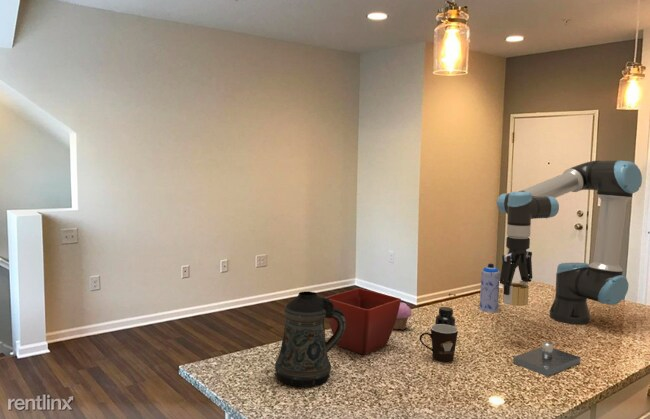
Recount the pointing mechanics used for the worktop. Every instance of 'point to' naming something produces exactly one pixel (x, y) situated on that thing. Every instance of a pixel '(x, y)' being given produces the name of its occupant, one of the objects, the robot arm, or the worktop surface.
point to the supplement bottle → (445, 316)
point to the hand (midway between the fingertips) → (515, 301)
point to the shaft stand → (546, 360)
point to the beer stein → (307, 341)
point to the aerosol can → (489, 289)
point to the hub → (519, 294)
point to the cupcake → (402, 316)
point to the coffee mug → (442, 342)
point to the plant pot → (365, 319)
